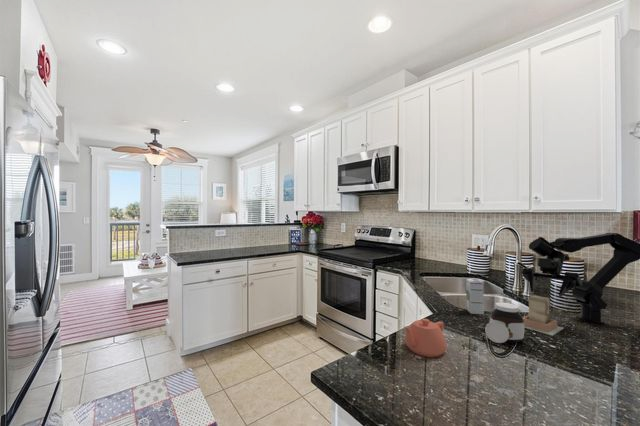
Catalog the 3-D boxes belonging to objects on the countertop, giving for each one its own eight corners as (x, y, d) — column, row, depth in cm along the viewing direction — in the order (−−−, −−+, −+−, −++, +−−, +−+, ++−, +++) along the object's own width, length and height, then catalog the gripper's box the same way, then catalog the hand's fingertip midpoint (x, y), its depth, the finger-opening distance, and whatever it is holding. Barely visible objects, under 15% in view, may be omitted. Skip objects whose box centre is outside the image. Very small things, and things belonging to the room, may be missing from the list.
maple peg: (533, 322, 113) (533, 295, 113) (549, 326, 109) (549, 298, 109) (528, 324, 110) (528, 297, 110) (544, 329, 106) (544, 300, 106)
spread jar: (521, 336, 100) (521, 304, 100) (529, 350, 90) (529, 314, 90) (482, 330, 105) (482, 299, 105) (486, 342, 95) (486, 308, 95)
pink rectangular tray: (527, 319, 118) (527, 312, 118) (563, 328, 108) (563, 321, 108) (514, 324, 111) (514, 317, 111) (552, 335, 101) (552, 327, 101)
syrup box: (484, 314, 122) (484, 281, 123) (469, 313, 124) (469, 280, 124) (479, 310, 128) (479, 278, 128) (465, 309, 129) (465, 278, 129)
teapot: (458, 351, 88) (459, 321, 88) (418, 365, 79) (418, 332, 80) (427, 337, 99) (427, 310, 99) (388, 347, 90) (389, 318, 90)
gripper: (521, 249, 123) (511, 278, 117) (577, 252, 107) (569, 285, 101) (530, 265, 127) (521, 293, 121) (585, 270, 111) (578, 303, 105)
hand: (545, 293), depth 112 cm, fingers open, 9 cm apart
